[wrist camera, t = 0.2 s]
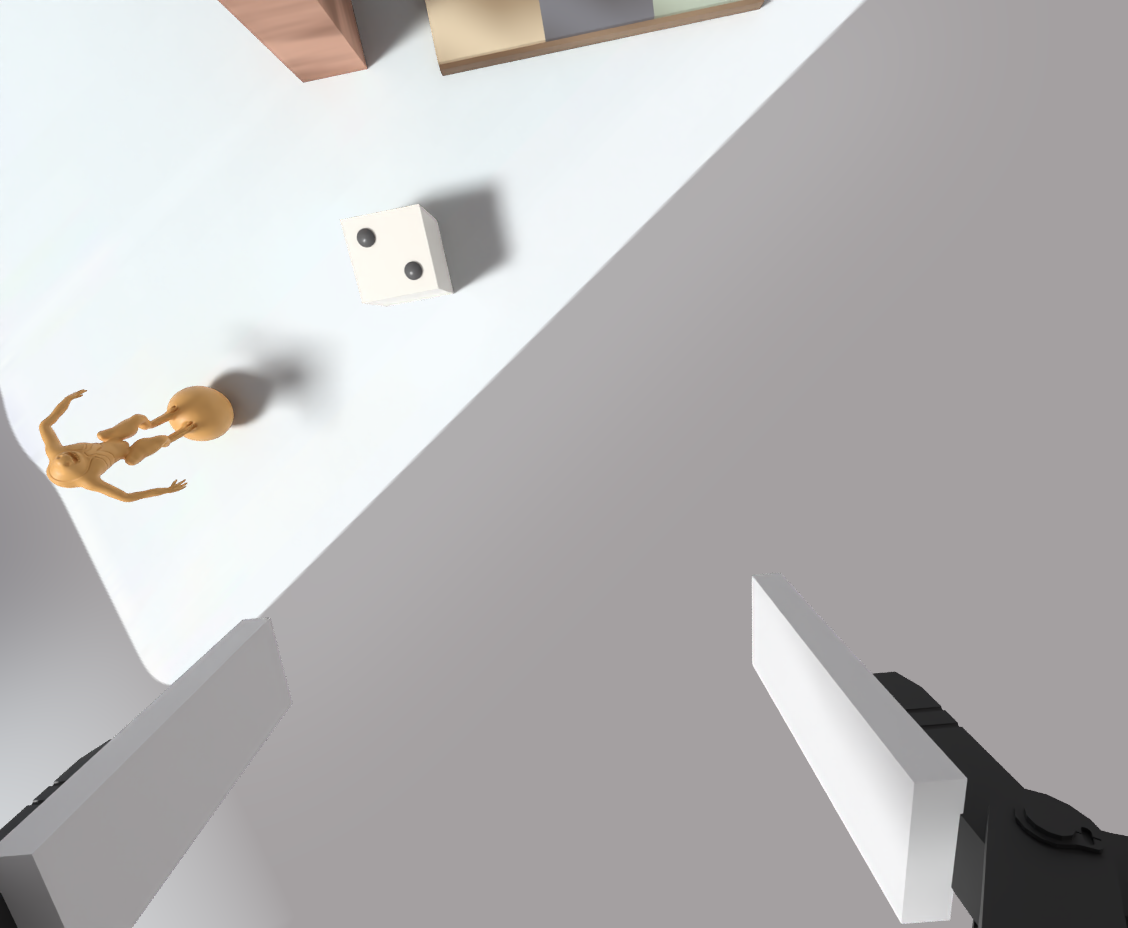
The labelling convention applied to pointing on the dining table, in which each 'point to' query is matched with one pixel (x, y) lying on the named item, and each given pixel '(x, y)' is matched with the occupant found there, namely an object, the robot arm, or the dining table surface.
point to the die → (397, 256)
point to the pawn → (305, 34)
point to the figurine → (83, 463)
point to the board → (553, 25)
